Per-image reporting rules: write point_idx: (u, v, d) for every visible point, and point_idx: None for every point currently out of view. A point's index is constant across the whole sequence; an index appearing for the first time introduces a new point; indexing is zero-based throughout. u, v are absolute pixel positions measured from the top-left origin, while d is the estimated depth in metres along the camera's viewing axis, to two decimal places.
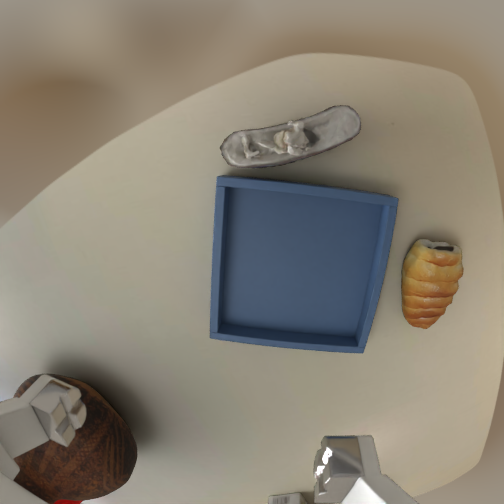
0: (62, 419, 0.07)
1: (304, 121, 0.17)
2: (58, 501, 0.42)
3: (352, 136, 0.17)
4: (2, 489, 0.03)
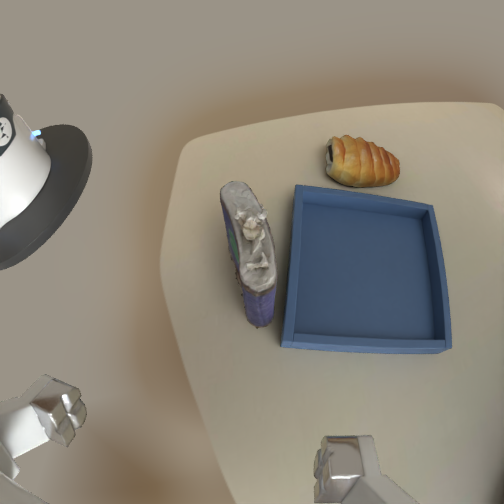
0: (63, 419, 0.07)
1: (234, 219, 0.21)
2: None
3: (247, 186, 0.22)
4: (2, 489, 0.03)
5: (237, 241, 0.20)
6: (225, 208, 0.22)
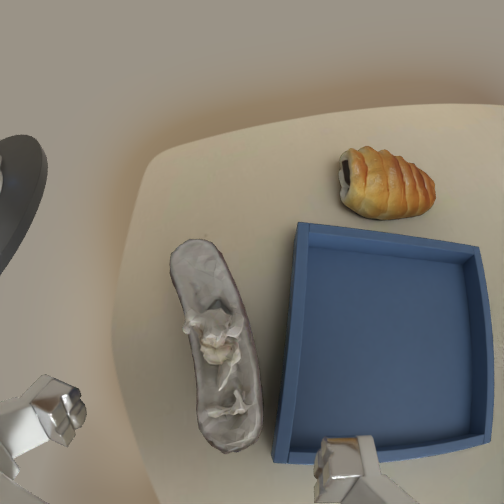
0: (63, 420, 0.07)
1: None
2: None
3: (216, 250, 0.13)
4: (2, 489, 0.03)
5: (194, 359, 0.11)
6: (177, 291, 0.12)
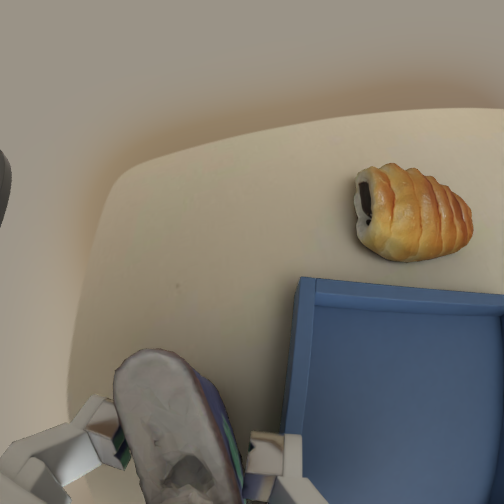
0: (120, 442, 0.07)
1: (146, 481, 0.05)
2: None
3: (189, 377, 0.07)
4: (2, 489, 0.03)
5: None
6: None
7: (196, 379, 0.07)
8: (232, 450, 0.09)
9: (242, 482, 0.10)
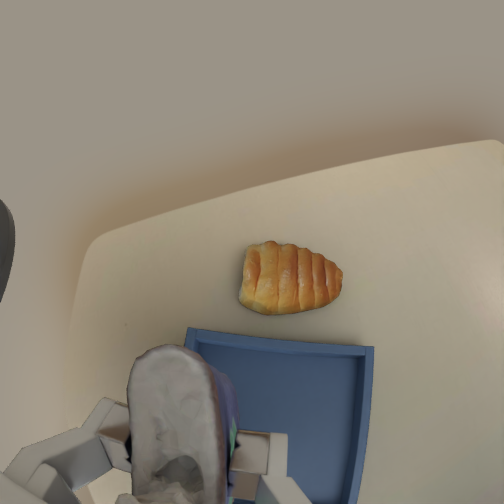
0: None
1: (138, 469, 0.06)
2: None
3: (208, 382, 0.07)
4: (2, 489, 0.03)
5: None
6: None
7: (214, 385, 0.07)
8: None
9: None
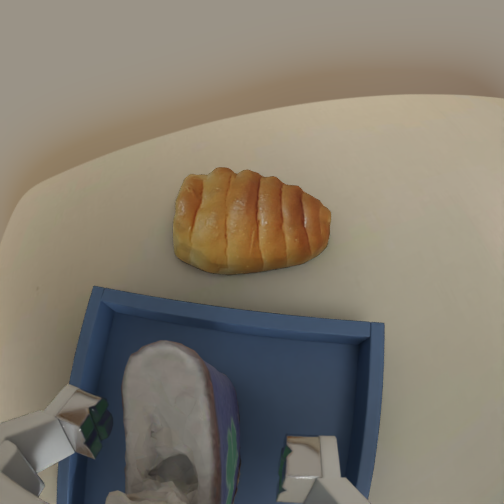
0: (90, 431, 0.07)
1: (131, 467, 0.06)
2: None
3: (203, 379, 0.07)
4: (2, 489, 0.03)
5: None
6: None
7: (209, 382, 0.07)
8: (230, 456, 0.09)
9: (232, 488, 0.09)
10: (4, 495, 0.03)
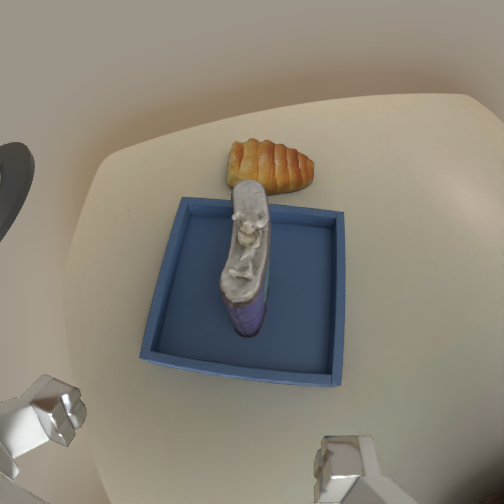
0: (63, 419, 0.07)
1: (236, 219, 0.19)
2: None
3: (263, 188, 0.21)
4: (2, 489, 0.03)
5: (231, 243, 0.19)
6: (232, 205, 0.20)
7: (265, 191, 0.21)
8: None
9: None
10: (4, 495, 0.03)
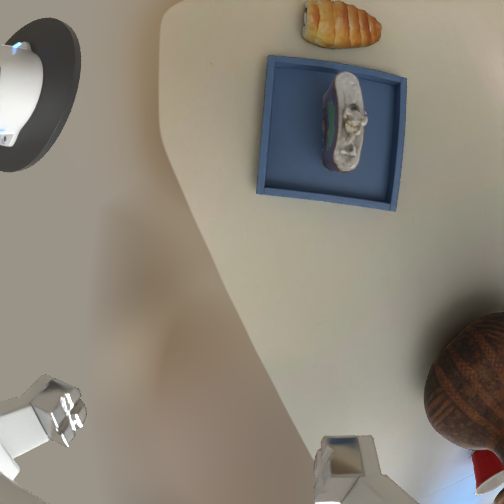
0: (63, 420, 0.07)
1: (340, 108, 0.23)
2: None
3: (358, 81, 0.22)
4: (2, 489, 0.03)
5: (338, 127, 0.23)
6: (335, 94, 0.22)
7: (359, 82, 0.22)
8: None
9: None
10: (4, 495, 0.03)
